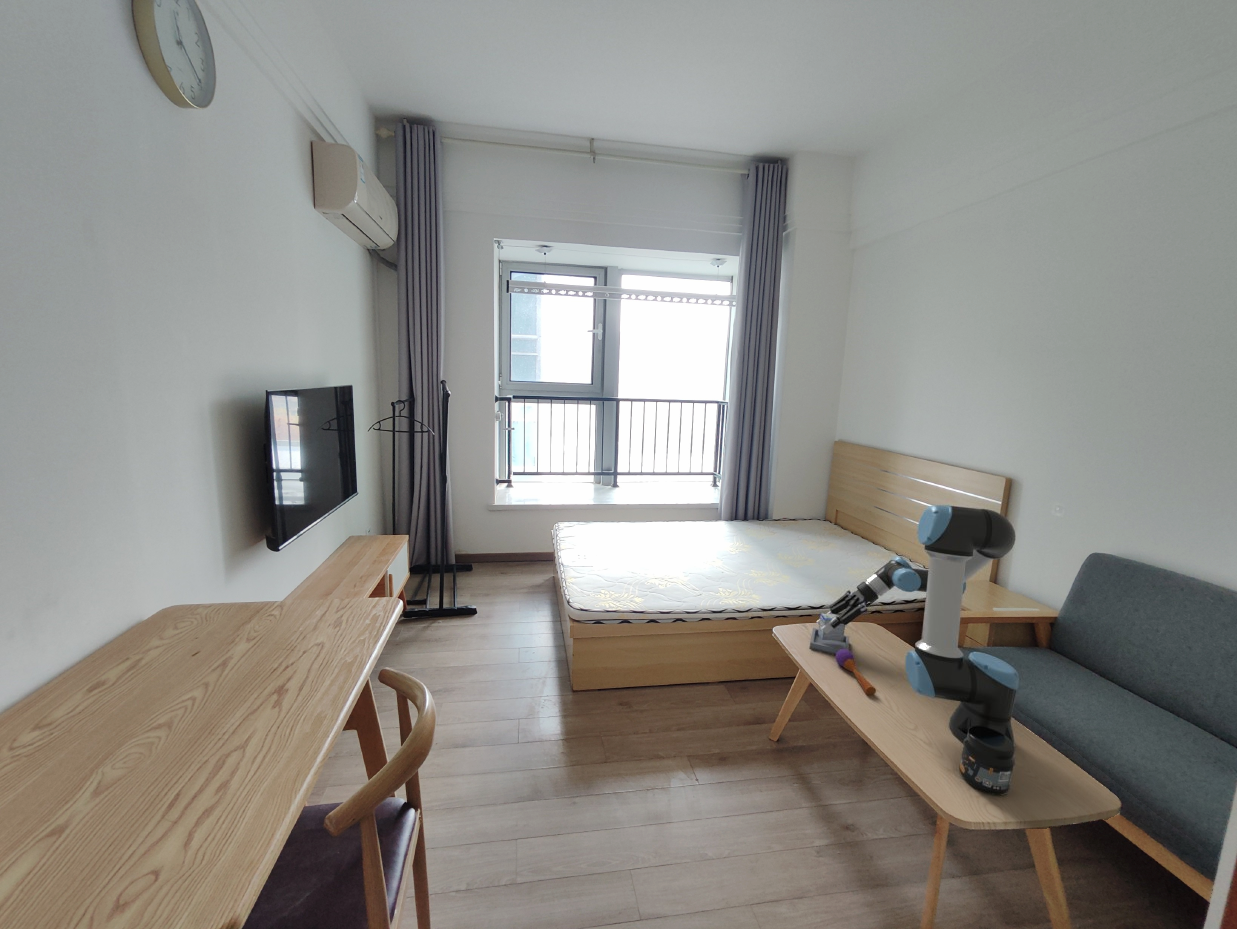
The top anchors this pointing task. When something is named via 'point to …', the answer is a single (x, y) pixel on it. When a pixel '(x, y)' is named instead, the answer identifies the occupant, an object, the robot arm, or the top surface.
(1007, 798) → the top surface
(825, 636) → the medicine box
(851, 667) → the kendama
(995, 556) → the robot arm
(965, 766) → the supplement container
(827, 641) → the tray
